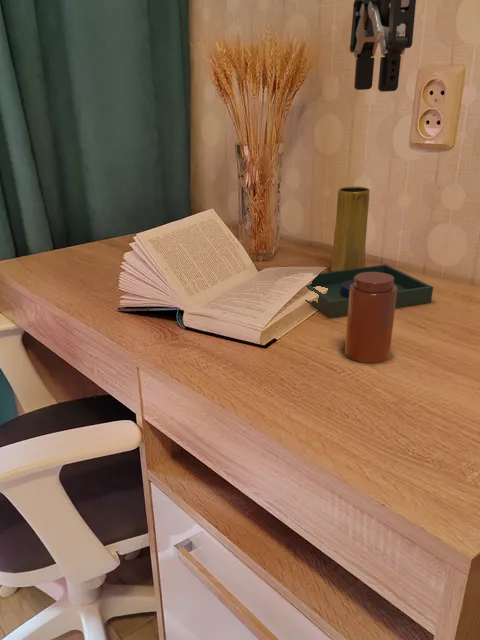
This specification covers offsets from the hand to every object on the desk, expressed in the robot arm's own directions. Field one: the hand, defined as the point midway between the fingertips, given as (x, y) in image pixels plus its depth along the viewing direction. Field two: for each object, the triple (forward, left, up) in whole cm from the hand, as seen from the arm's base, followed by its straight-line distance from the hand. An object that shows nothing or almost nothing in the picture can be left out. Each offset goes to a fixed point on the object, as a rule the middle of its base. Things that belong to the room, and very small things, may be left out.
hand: (374, 90), depth 76 cm
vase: (-9, -19, -30) cm, 37 cm away
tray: (-4, -6, -30) cm, 31 cm away
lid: (-4, -6, -28) cm, 29 cm away
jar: (+6, +14, -30) cm, 34 cm away
